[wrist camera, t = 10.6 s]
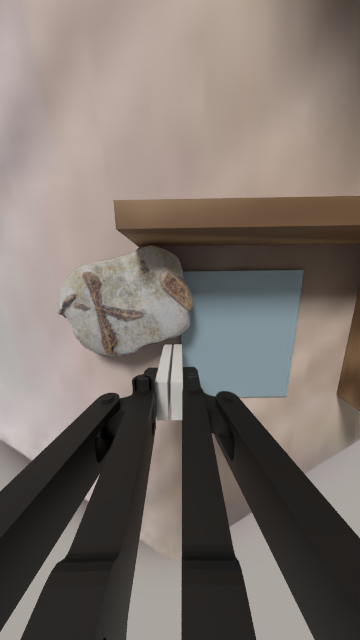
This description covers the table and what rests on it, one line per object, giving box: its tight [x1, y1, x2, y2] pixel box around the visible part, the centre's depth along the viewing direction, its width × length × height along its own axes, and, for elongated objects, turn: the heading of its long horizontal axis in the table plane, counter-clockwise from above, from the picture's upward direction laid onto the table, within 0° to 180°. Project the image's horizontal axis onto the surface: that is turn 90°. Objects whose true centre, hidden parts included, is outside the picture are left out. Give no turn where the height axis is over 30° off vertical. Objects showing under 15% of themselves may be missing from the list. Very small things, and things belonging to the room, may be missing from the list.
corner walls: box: [114, 196, 360, 411], centre depth 16 cm, size 18×24×6 cm
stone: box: [58, 245, 193, 356], centre depth 16 cm, size 12×9×3 cm
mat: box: [181, 270, 304, 397], centre depth 19 cm, size 14×12×1 cm
